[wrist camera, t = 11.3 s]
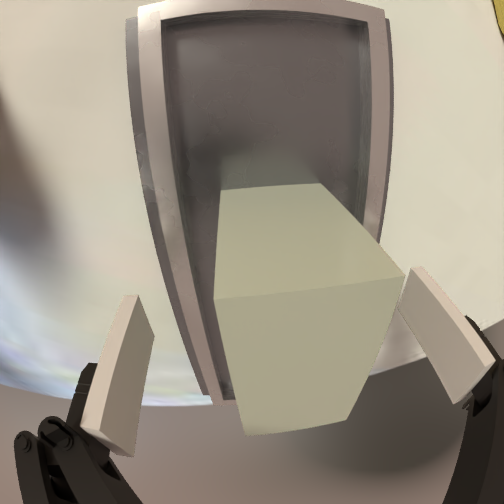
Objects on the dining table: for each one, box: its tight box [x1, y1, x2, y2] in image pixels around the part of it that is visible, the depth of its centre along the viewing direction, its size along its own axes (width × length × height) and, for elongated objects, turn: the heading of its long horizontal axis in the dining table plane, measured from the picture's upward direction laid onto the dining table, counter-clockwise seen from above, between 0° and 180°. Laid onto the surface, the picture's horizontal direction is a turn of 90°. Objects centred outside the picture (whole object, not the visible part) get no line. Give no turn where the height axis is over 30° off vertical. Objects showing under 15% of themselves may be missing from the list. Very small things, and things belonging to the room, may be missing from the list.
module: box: [214, 183, 405, 436], centre depth 12 cm, size 5×9×8 cm, turn 4°
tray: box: [126, 0, 394, 406], centre depth 15 cm, size 13×28×2 cm, turn 3°
